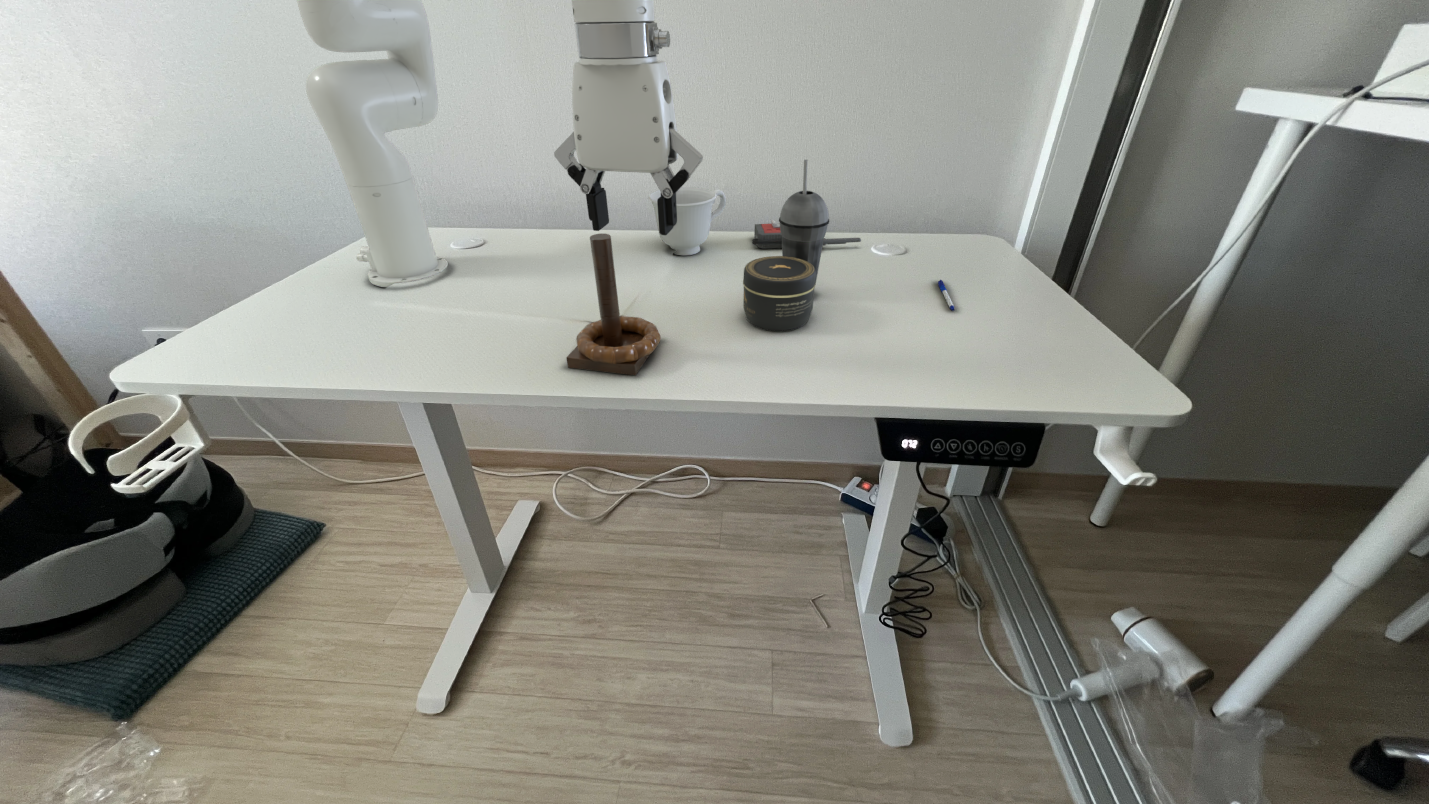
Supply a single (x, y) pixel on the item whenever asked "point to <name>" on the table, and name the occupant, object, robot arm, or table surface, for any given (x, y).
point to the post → (607, 313)
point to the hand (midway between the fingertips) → (633, 228)
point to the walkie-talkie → (772, 236)
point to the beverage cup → (804, 225)
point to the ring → (621, 352)
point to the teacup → (690, 218)
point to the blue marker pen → (945, 294)
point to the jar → (778, 292)
